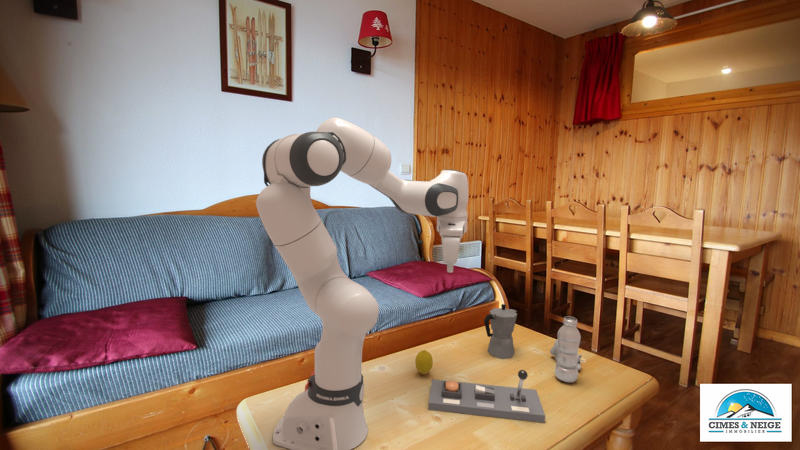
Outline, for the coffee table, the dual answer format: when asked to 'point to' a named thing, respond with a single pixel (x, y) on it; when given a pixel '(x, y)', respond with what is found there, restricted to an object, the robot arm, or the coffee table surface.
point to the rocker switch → (483, 390)
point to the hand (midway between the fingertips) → (450, 271)
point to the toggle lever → (520, 382)
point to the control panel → (487, 401)
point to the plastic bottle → (568, 351)
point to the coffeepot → (501, 331)
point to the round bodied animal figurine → (555, 352)
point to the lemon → (424, 362)
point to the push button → (452, 386)
